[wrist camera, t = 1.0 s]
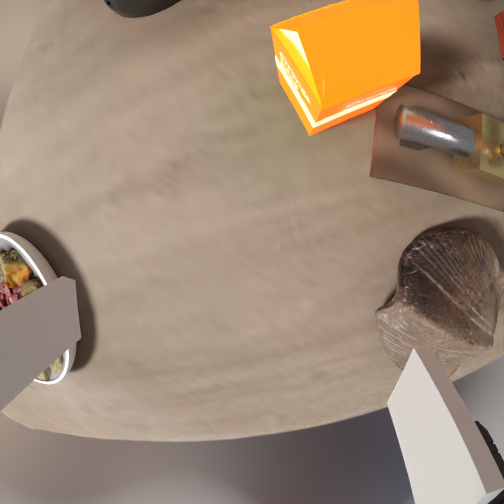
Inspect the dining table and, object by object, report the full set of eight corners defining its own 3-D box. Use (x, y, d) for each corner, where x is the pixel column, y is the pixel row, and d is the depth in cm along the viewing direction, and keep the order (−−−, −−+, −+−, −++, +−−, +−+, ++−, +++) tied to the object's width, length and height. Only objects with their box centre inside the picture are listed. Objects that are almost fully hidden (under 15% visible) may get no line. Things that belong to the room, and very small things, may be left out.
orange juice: (278, 81, 31) (260, -14, 12) (343, 55, 29) (383, -44, 10) (310, 137, 32) (332, 88, 13) (375, 109, 30) (455, 48, 11)
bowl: (90, 262, 40) (57, 278, 33) (85, 395, 49) (65, 418, 41) (-11, 209, 42) (-40, 215, 34) (-5, 330, 50) (-26, 343, 42)
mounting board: (378, 81, 29) (381, 78, 28) (528, 140, 27) (534, 139, 25) (369, 176, 32) (372, 176, 31) (521, 218, 30) (527, 219, 29)
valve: (388, 103, 29) (417, 82, 20) (529, 157, 26) (570, 158, 18) (384, 152, 30) (414, 145, 22) (526, 197, 28) (567, 206, 19)
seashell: (531, 258, 24) (518, 351, 16) (475, 337, 35) (438, 416, 28) (431, 199, 32) (382, 263, 25) (398, 287, 44) (346, 353, 36)
